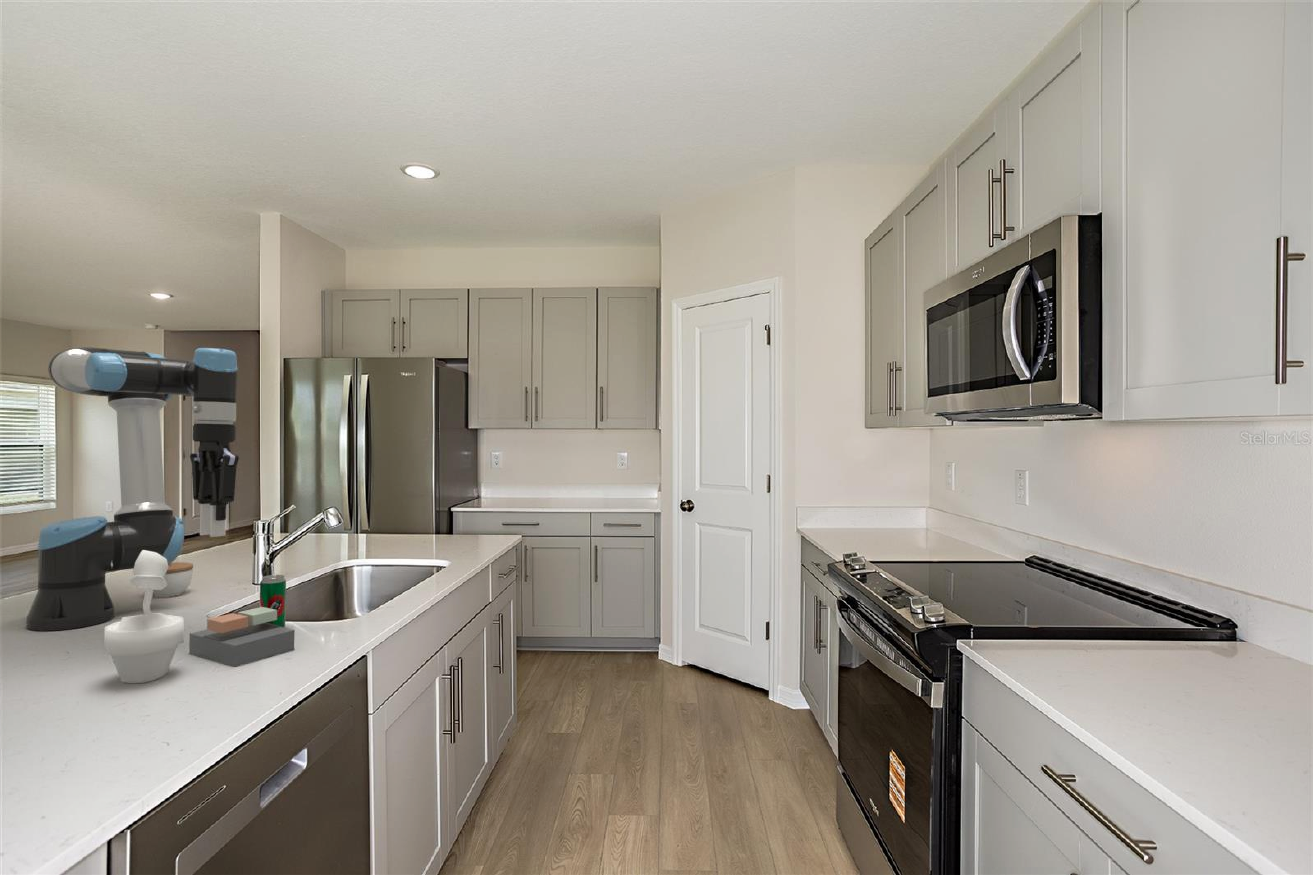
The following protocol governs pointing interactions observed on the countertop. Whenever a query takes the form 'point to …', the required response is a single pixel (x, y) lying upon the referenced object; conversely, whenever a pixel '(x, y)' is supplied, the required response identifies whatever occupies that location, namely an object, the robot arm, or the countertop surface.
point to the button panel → (242, 643)
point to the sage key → (259, 615)
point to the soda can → (274, 596)
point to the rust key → (227, 623)
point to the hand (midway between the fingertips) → (212, 535)
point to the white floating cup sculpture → (145, 628)
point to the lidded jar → (176, 579)
